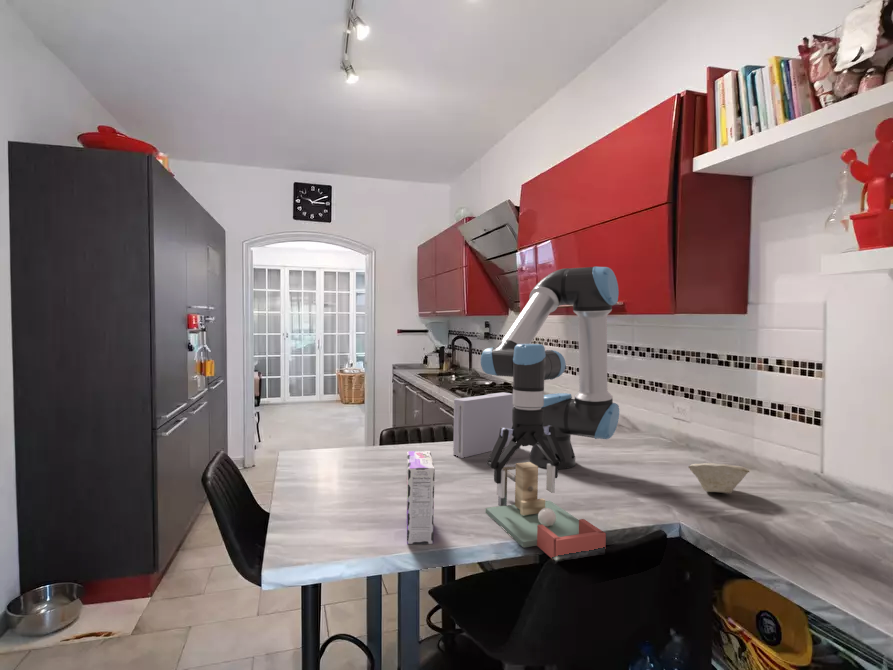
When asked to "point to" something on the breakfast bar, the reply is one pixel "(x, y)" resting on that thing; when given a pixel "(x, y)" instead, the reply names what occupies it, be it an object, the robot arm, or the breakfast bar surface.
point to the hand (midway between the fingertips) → (525, 493)
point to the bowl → (718, 476)
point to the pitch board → (532, 523)
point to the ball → (547, 517)
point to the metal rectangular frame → (504, 500)
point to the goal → (570, 540)
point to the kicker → (526, 488)
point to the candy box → (420, 497)
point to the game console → (480, 422)
